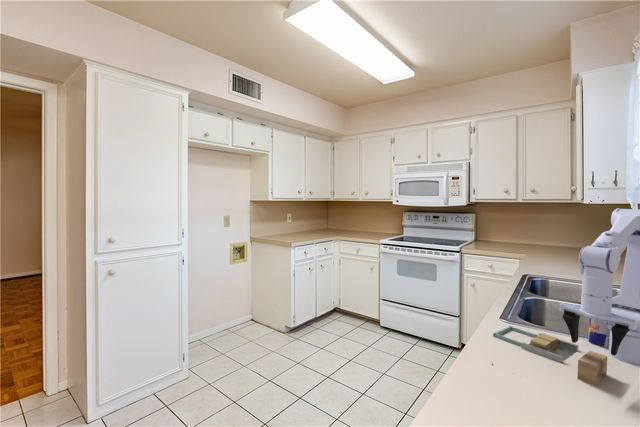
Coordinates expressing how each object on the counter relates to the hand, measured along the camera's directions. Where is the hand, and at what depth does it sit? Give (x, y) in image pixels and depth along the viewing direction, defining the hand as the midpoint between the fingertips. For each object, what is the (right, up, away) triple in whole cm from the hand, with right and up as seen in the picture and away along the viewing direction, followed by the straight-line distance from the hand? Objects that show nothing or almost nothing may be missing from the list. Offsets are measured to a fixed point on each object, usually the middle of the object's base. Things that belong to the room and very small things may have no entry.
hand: (593, 347), depth 78 cm
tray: (-5, -8, +23) cm, 25 cm away
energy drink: (+19, -9, +19) cm, 28 cm away
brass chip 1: (-3, -7, +15) cm, 17 cm away
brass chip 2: (+1, -7, +17) cm, 19 cm away
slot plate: (0, -8, +15) cm, 17 cm away
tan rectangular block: (0, -9, 0) cm, 9 cm away
